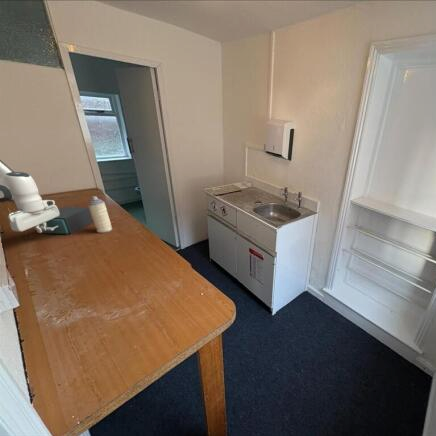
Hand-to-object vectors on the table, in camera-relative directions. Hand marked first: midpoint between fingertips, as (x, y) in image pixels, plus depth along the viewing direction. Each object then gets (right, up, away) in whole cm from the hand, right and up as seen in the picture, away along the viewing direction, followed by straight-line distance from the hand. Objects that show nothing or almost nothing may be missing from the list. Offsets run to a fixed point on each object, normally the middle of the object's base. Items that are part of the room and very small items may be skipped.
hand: (42, 231), depth 117 cm
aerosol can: (+21, 0, +14) cm, 25 cm away
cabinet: (0, +2, +15) cm, 15 cm away
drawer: (0, +1, +11) cm, 11 cm away
